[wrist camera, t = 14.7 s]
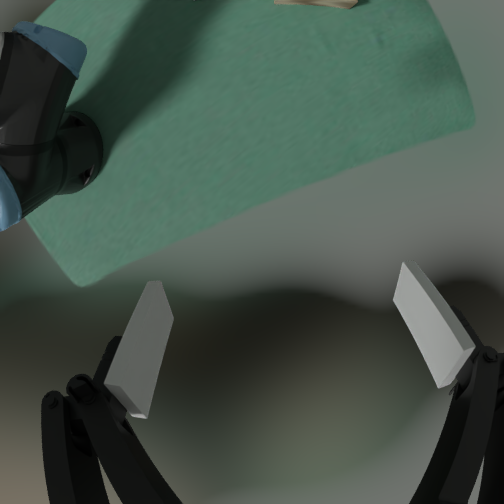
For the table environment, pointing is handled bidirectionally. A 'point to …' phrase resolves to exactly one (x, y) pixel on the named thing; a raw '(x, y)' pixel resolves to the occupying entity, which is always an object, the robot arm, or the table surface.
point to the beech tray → (320, 3)
